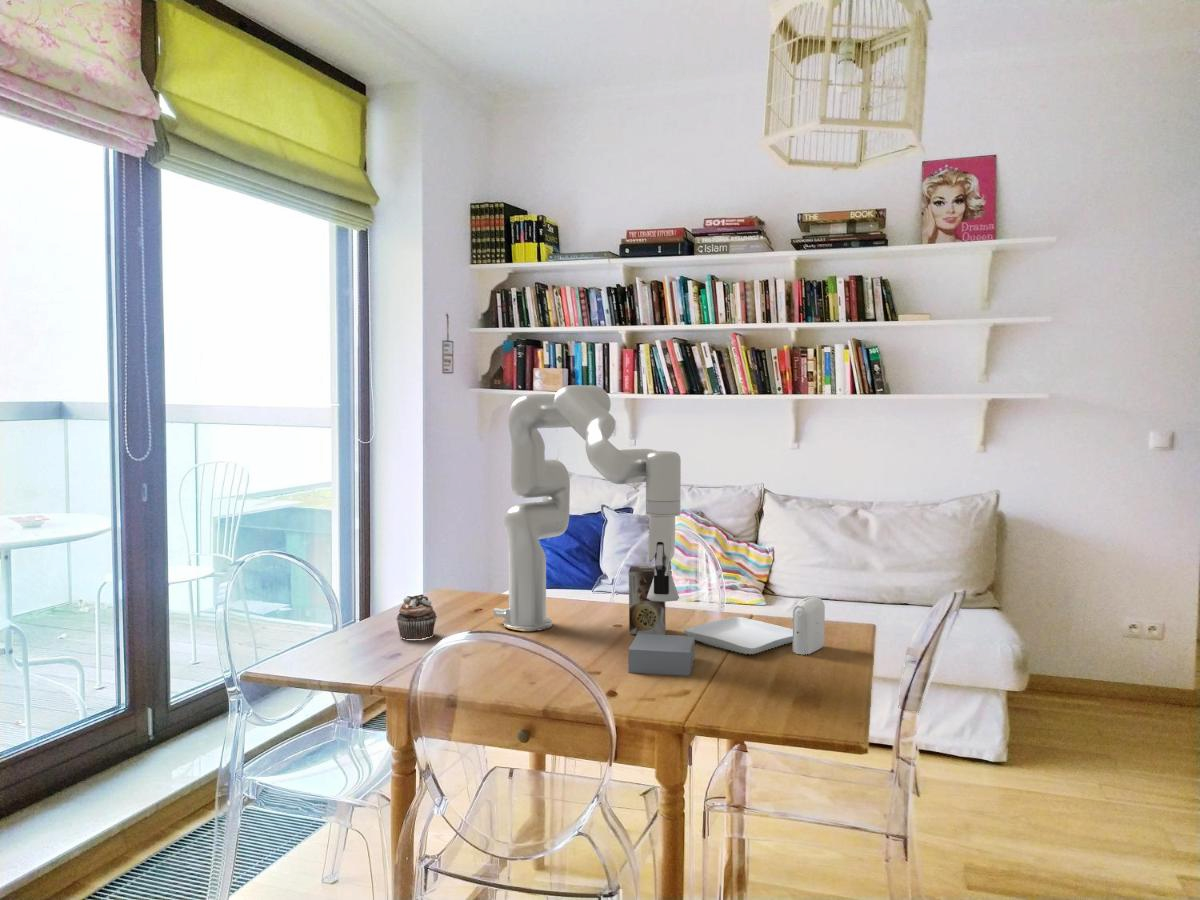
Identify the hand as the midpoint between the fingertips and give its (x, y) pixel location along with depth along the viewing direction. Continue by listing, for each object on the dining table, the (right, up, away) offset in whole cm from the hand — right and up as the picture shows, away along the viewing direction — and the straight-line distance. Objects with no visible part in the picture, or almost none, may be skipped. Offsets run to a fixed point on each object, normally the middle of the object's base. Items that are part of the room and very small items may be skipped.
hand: (662, 590), depth 193 cm
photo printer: (+35, -16, +13) cm, 40 cm away
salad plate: (+21, -16, +19) cm, 33 cm away
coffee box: (-2, -15, +29) cm, 33 cm away
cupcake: (-59, -15, +24) cm, 65 cm away
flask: (0, -2, 0) cm, 2 cm away
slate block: (0, -17, +1) cm, 17 cm away
